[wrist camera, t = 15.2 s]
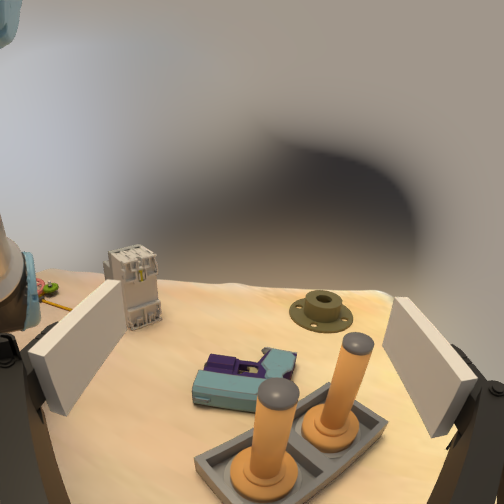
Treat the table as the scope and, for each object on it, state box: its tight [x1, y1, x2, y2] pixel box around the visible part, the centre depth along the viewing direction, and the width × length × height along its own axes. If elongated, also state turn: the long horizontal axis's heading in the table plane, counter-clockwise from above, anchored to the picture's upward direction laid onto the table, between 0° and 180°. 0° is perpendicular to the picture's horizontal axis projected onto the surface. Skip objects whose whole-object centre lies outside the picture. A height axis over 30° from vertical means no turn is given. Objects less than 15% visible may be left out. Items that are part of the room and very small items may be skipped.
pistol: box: [192, 347, 297, 412], centre depth 49 cm, size 4×16×15 cm
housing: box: [194, 382, 388, 504], centre depth 35 cm, size 24×12×4 cm, turn 128°
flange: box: [289, 290, 353, 333], centre depth 70 cm, size 5×15×15 cm
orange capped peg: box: [301, 332, 374, 453], centre depth 35 cm, size 8×8×17 cm
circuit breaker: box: [103, 244, 162, 331], centre depth 65 cm, size 8×14×15 cm, turn 45°
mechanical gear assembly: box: [36, 278, 73, 311], centre depth 66 cm, size 30×4×15 cm
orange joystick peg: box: [230, 377, 299, 503], centre depth 28 cm, size 8×8×17 cm
